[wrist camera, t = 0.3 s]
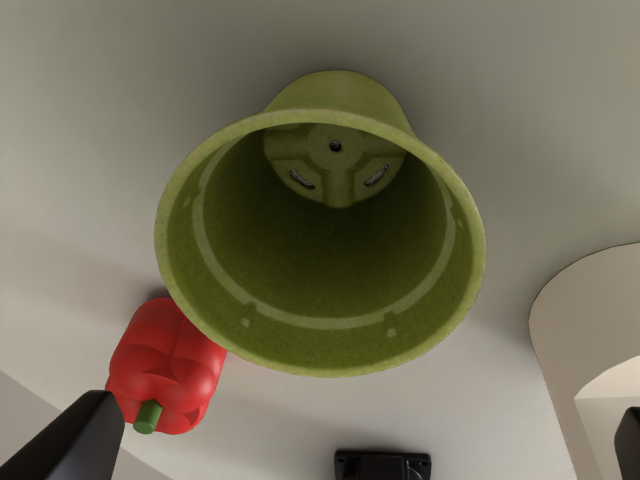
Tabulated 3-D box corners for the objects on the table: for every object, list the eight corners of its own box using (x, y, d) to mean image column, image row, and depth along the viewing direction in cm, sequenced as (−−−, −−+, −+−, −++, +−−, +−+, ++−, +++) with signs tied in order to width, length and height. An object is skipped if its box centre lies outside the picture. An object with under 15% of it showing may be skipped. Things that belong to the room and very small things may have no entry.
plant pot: (184, 152, 23) (99, 281, 16) (313, -38, 18) (273, 25, 11) (349, 262, 25) (340, 413, 18) (498, 124, 21) (562, 258, 14)
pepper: (257, 346, 30) (231, 454, 24) (171, 368, 31) (129, 472, 26) (202, 271, 27) (159, 374, 21) (111, 299, 28) (50, 402, 23)
